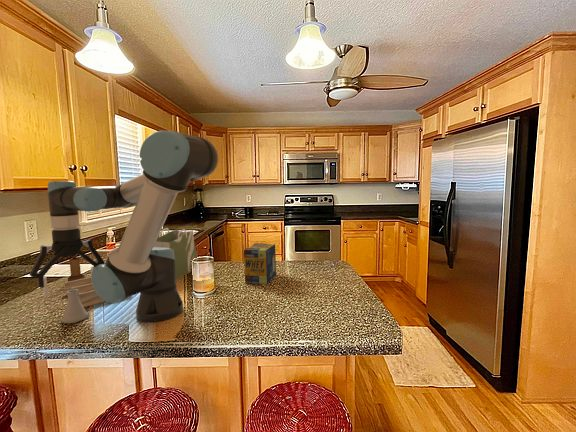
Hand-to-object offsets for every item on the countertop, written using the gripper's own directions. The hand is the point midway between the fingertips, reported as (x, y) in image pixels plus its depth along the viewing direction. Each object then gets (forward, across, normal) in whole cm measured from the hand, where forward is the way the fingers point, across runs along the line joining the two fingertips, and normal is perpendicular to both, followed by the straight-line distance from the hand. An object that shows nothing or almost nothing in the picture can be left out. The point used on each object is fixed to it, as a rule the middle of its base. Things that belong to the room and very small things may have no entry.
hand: (71, 290), depth 102 cm
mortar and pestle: (+11, -12, -49) cm, 52 cm away
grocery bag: (+10, -50, -24) cm, 56 cm away
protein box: (+9, -69, +18) cm, 72 cm away
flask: (+10, 0, 0) cm, 10 cm away
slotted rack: (+10, -13, -20) cm, 26 cm away
